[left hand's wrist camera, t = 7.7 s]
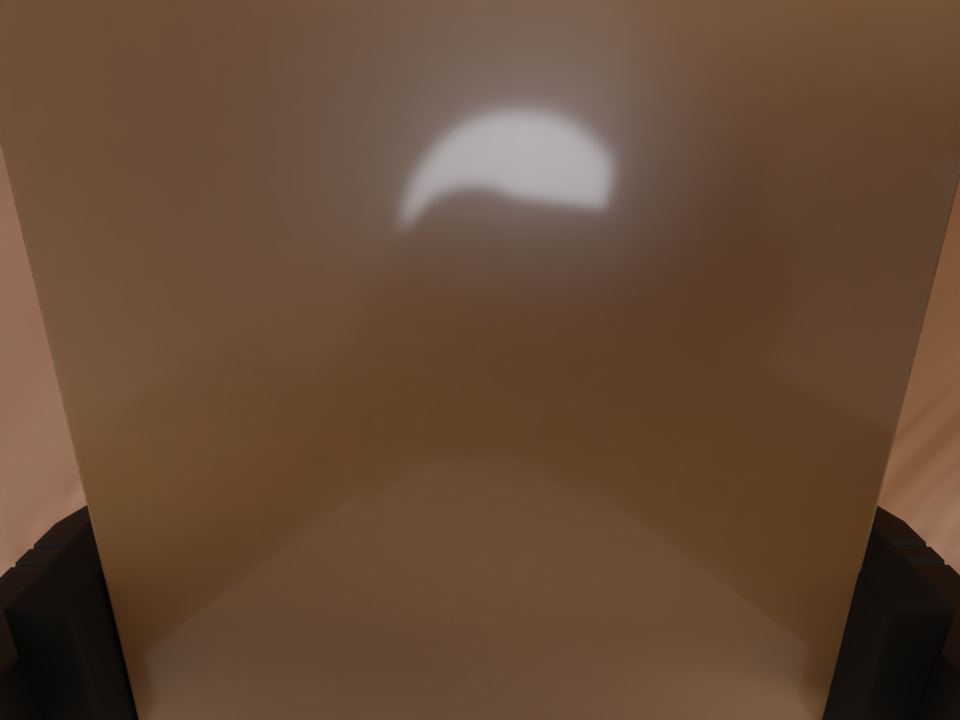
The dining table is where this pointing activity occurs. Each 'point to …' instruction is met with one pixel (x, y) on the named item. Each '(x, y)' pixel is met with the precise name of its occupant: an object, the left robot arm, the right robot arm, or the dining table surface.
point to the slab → (481, 338)
